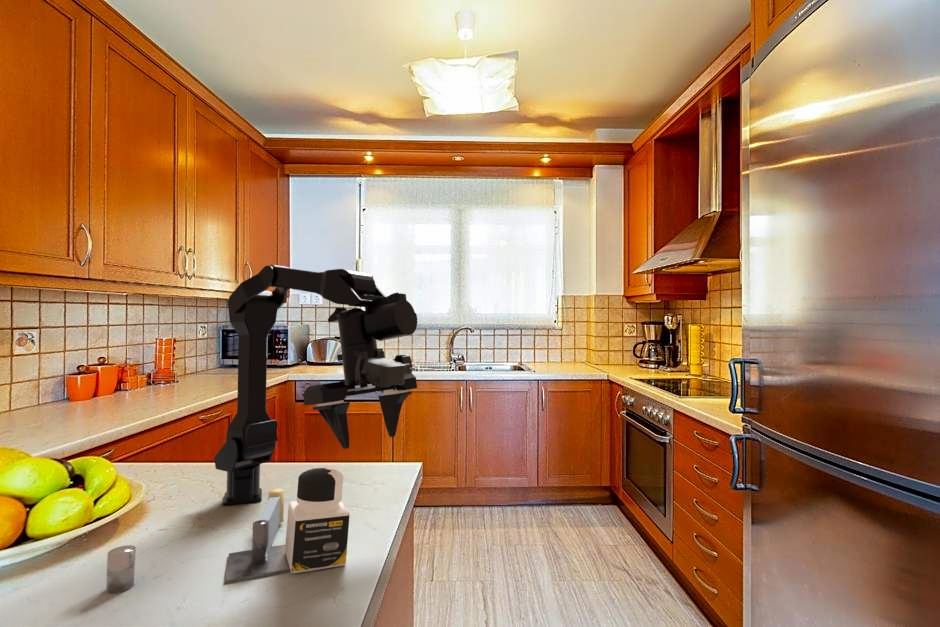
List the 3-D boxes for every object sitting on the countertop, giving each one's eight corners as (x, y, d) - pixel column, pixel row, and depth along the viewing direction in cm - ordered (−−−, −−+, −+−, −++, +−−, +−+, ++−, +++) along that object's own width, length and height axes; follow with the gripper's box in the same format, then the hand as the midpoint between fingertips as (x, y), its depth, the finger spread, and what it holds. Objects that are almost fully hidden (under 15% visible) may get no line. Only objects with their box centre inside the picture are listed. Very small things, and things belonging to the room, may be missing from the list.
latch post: (109, 584, 60) (111, 547, 60) (136, 579, 61) (137, 543, 61) (103, 595, 57) (104, 557, 58) (131, 590, 59) (132, 553, 59)
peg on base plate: (228, 556, 68) (229, 516, 68) (289, 546, 71) (290, 508, 71) (224, 583, 60) (226, 539, 61) (292, 571, 63) (293, 529, 64)
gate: (271, 552, 68) (272, 516, 68) (253, 554, 67) (254, 518, 67) (284, 518, 80) (285, 488, 80) (269, 519, 80) (269, 489, 80)
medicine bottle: (290, 574, 62) (298, 480, 62) (284, 552, 68) (291, 466, 69) (346, 566, 65) (353, 476, 66) (335, 545, 71) (341, 463, 72)
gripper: (340, 340, 66) (352, 455, 64) (433, 335, 80) (446, 429, 78) (296, 351, 73) (307, 455, 71) (390, 345, 87) (401, 432, 85)
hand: (370, 442), depth 76 cm, fingers open, 9 cm apart
